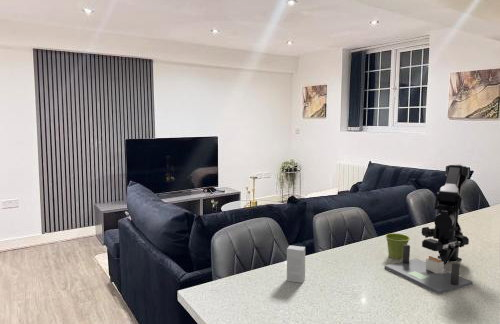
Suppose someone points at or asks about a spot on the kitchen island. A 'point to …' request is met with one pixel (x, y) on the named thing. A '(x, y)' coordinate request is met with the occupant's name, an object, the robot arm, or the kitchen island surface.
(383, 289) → the kitchen island surface
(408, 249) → the cord post
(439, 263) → the orange striped block
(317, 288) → the kitchen island surface
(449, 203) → the robot arm
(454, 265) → the cord post
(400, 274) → the panel
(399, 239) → the plant pot
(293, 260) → the skincare box
